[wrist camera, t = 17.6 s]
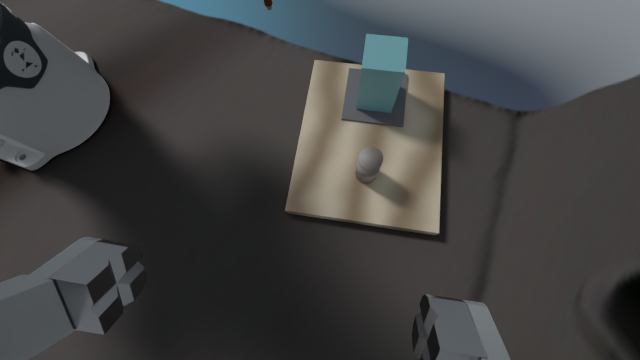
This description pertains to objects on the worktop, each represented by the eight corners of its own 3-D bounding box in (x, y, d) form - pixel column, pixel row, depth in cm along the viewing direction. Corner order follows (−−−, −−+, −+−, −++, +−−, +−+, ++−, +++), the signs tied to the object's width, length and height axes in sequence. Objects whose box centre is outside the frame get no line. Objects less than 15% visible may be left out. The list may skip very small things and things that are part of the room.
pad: (341, 119, 39) (341, 118, 39) (349, 69, 42) (349, 67, 42) (402, 127, 39) (403, 126, 38) (407, 75, 41) (407, 74, 41)
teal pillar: (355, 108, 39) (361, 67, 32) (359, 79, 41) (366, 33, 33) (390, 113, 39) (405, 72, 32) (393, 83, 41) (408, 37, 33)
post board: (286, 213, 37) (277, 199, 31) (315, 66, 44) (312, 32, 38) (434, 235, 36) (456, 225, 30) (440, 80, 43) (459, 46, 36)
